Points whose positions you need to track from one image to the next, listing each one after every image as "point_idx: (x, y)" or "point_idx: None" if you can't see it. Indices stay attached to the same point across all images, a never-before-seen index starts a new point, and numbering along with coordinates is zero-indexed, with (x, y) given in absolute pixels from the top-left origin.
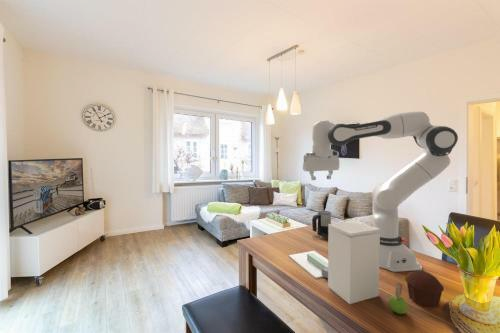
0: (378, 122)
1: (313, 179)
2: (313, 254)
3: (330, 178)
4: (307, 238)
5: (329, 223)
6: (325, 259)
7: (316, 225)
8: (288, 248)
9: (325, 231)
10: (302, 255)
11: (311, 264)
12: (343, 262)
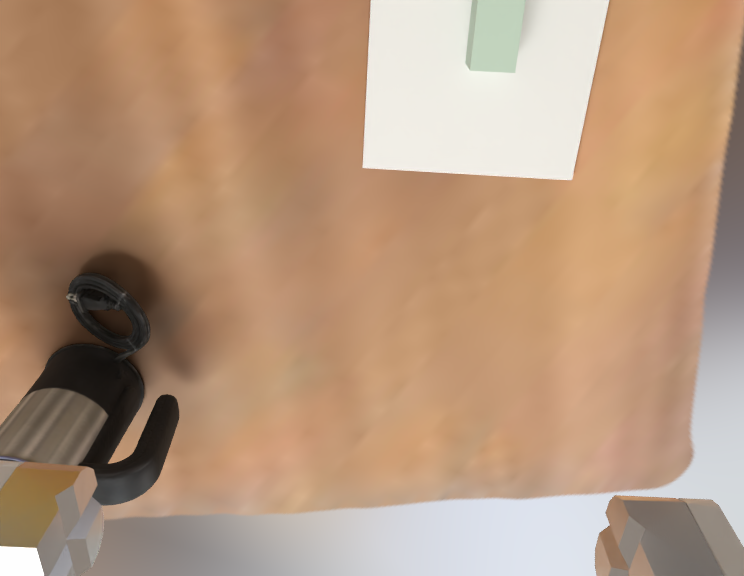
0: None
1: (718, 505)
2: (478, 43)
3: (7, 468)
4: (262, 361)
5: (34, 401)
6: (386, 8)
7: (148, 423)
8: (487, 280)
9: (97, 369)
10: (489, 137)
11: None
12: None
